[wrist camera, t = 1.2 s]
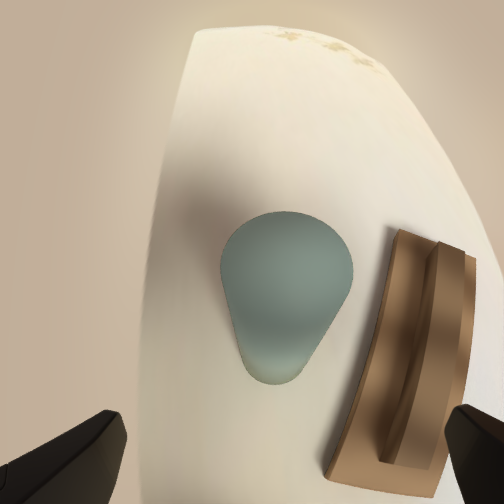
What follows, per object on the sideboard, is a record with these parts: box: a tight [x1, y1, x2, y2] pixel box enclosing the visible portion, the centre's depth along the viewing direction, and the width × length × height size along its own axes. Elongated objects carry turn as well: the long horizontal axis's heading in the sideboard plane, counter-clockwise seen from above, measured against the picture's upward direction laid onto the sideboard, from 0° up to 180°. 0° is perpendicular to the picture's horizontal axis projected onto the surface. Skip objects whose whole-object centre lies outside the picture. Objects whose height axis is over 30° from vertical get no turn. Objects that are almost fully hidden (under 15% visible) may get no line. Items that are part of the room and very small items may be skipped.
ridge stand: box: [324, 229, 476, 498], centre depth 19 cm, size 20×8×4 cm, turn 157°
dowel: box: [221, 211, 353, 385], centre depth 16 cm, size 4×4×12 cm
